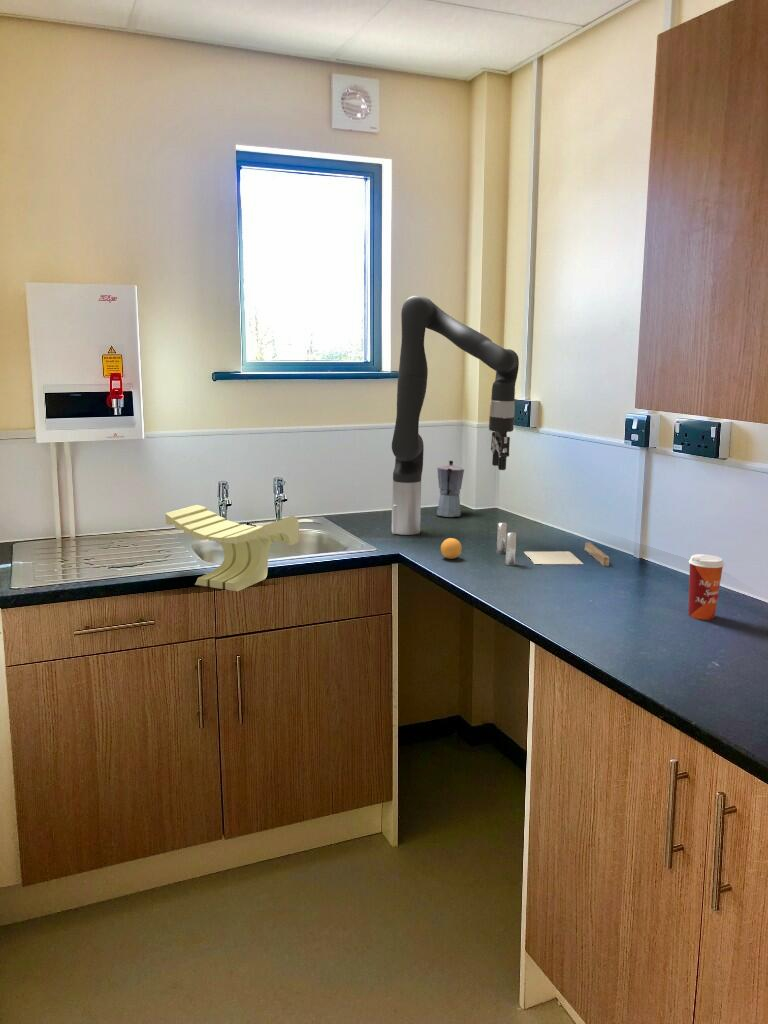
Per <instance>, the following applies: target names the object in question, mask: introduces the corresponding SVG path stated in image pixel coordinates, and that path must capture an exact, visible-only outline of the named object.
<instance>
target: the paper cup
mask: <svg viewBox="0 0 768 1024" xmlns="http://www.w3.org/2000/svg"><path fill="white" fill-rule="evenodd" d="M688 563H689V582H688V583H689V586H688V616H689V617H690V616H691V618H692V617H693V619H695V618H696V619H695V620H700V619H701V620H702V621H711V620H710V619H712V620H714V619H715V615H716V610H717V605H718V599H719V594H720V593H719V592H720V588H721V587H720V585H721V579H722V574H723V567H725V563H724V560H723V558H721V557H720V556H717V555H714V554H713V555H712V554H705V553H704V554H703V553H701V554H700V553H696V554H692V555H691V556H690V559H689V560H688ZM713 618H714V619H713Z"/></svg>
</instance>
